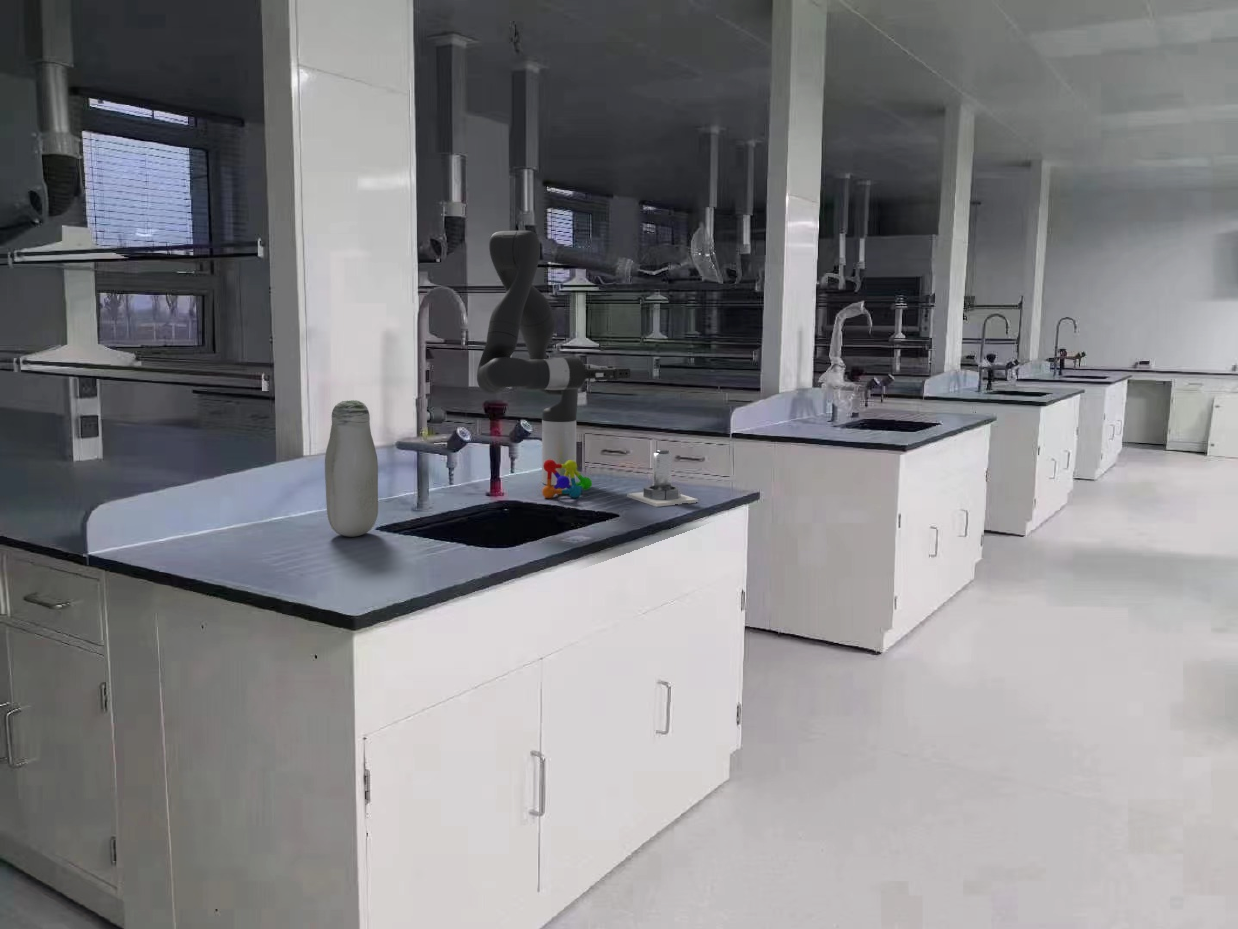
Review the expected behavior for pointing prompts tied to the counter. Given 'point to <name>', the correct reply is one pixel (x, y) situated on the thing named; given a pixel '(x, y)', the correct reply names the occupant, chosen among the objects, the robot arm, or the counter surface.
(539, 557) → the counter surface
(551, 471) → the molecular model
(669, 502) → the plate
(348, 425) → the grey bottle
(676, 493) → the collar
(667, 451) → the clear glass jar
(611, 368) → the robot arm
